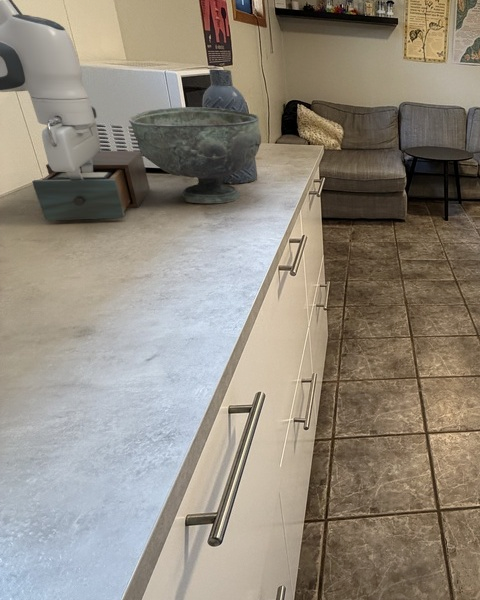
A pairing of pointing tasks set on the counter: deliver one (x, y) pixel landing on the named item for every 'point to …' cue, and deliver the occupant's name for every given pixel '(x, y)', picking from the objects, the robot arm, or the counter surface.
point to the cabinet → (132, 169)
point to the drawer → (84, 196)
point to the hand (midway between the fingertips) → (85, 184)
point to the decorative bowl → (199, 146)
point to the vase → (230, 99)
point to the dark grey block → (85, 176)
